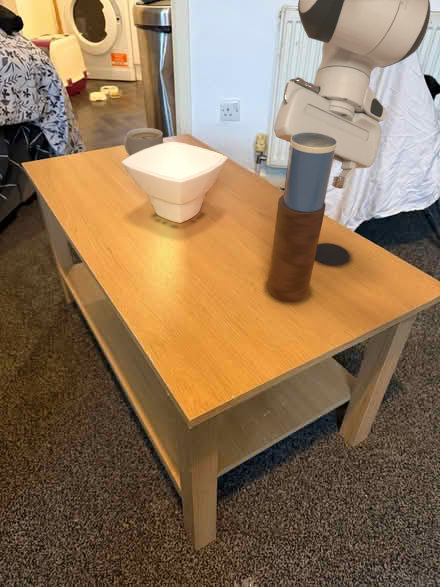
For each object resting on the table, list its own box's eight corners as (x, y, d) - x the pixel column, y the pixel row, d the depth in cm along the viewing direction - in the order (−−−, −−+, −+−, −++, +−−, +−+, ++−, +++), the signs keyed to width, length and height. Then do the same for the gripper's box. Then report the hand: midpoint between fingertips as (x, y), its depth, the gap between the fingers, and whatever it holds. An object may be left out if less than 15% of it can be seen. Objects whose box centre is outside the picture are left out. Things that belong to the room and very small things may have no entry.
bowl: (172, 191, 109) (169, 138, 101) (232, 212, 101) (235, 156, 92) (121, 218, 97) (113, 160, 88) (185, 245, 89) (182, 184, 80)
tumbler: (325, 196, 68) (337, 135, 62) (323, 214, 63) (336, 150, 57) (284, 191, 69) (293, 130, 63) (280, 209, 64) (288, 145, 58)
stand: (308, 280, 80) (325, 194, 69) (307, 304, 74) (325, 215, 63) (269, 275, 81) (280, 189, 70) (265, 298, 75) (276, 210, 64)
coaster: (348, 247, 90) (348, 245, 89) (349, 267, 84) (350, 266, 83) (311, 242, 91) (311, 241, 91) (310, 262, 85) (310, 261, 84)
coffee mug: (171, 169, 121) (169, 134, 115) (143, 177, 116) (139, 142, 109) (146, 156, 129) (143, 122, 122) (118, 163, 123) (113, 129, 117)
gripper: (302, 67, 60) (280, 162, 62) (393, 114, 70) (372, 195, 72) (277, 77, 66) (258, 164, 67) (365, 120, 76) (346, 194, 77)
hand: (318, 180), depth 70 cm, fingers open, 8 cm apart
